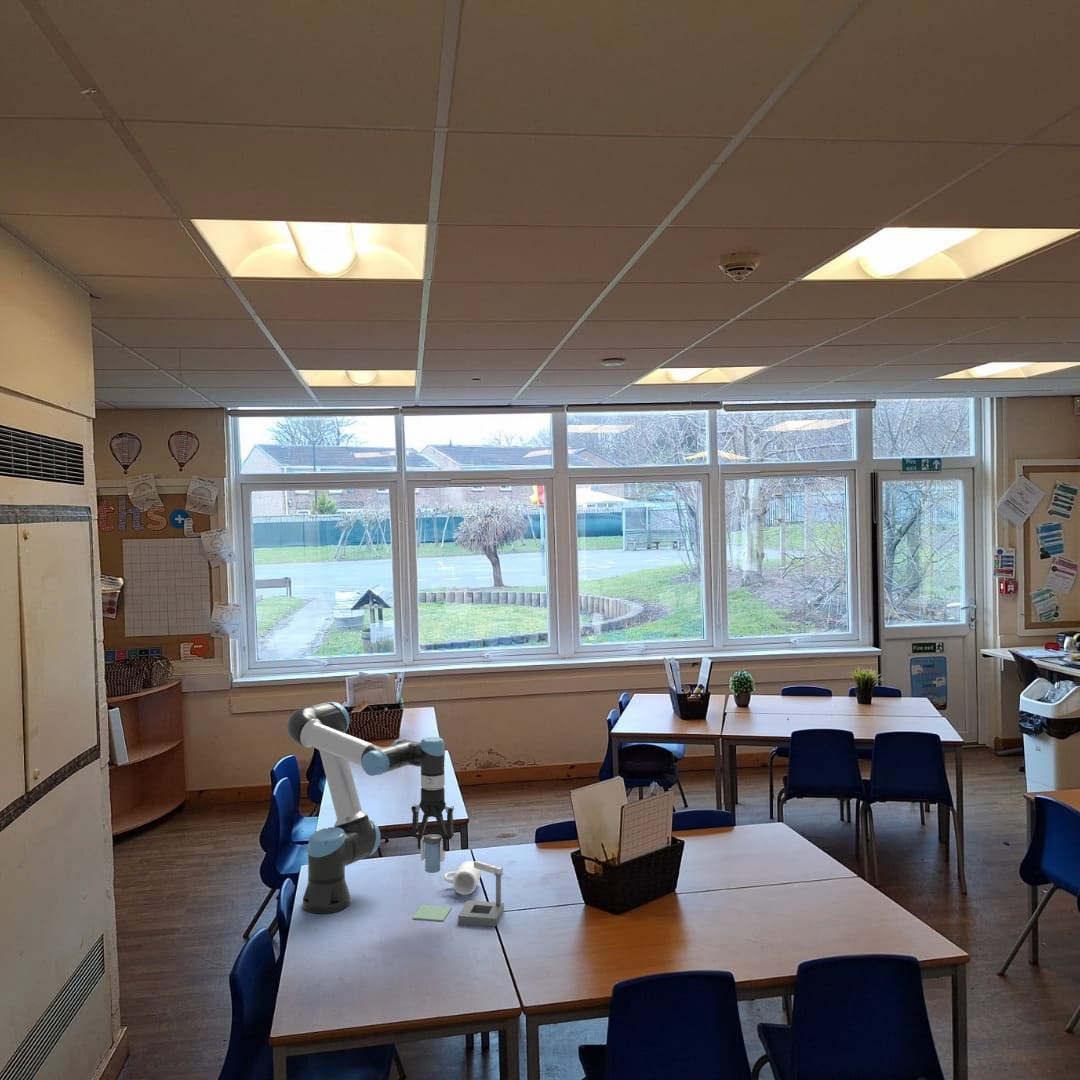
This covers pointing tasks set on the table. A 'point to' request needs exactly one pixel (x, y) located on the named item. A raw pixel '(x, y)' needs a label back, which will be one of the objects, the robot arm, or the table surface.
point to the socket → (483, 910)
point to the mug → (464, 878)
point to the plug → (432, 853)
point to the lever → (489, 868)
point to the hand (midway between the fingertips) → (432, 859)
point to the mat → (432, 913)
